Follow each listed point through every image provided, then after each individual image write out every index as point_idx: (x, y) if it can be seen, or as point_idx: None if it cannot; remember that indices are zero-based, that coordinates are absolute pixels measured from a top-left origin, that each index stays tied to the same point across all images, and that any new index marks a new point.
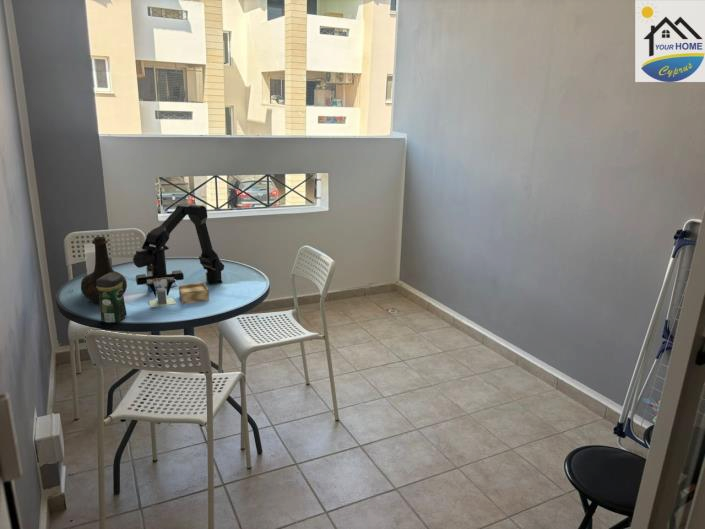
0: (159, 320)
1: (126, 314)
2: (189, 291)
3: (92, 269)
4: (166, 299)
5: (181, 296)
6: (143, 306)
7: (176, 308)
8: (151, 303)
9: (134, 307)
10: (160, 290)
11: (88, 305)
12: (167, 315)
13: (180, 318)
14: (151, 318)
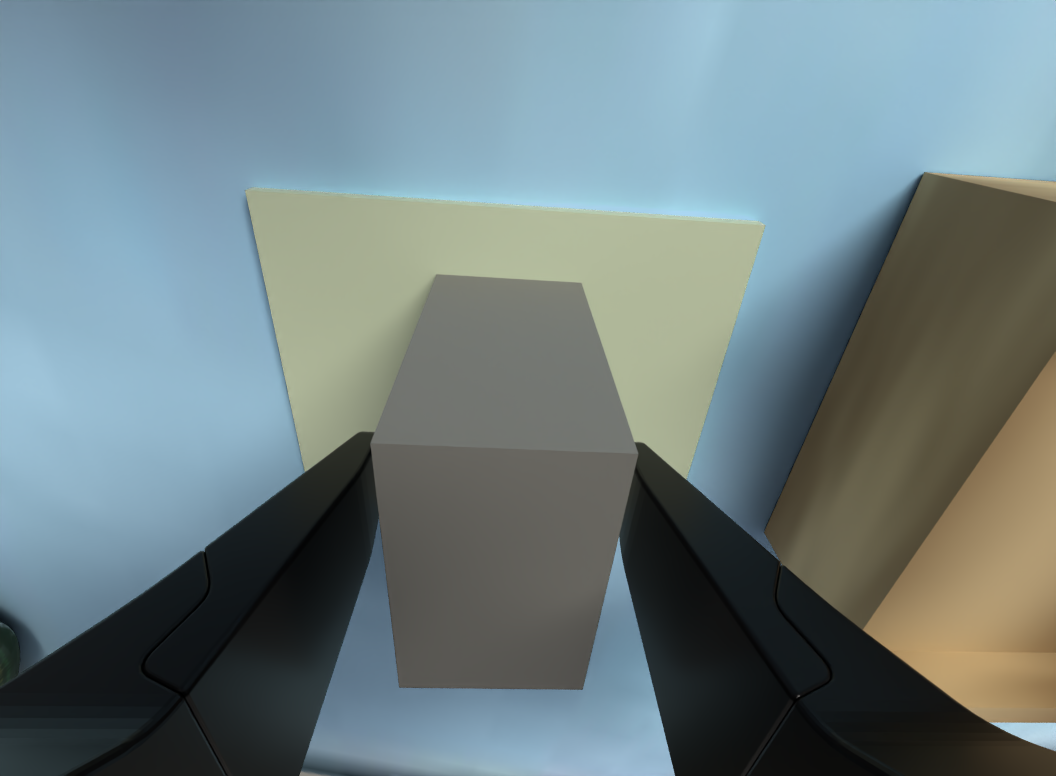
0: (405, 754)
1: (11, 658)
2: (1011, 713)
3: None
4: (610, 283)
5: (856, 488)
6: (185, 408)
7: (628, 611)
8: (313, 367)
9: (27, 392)
10: (475, 619)
11: None
12: (490, 707)
13: (581, 766)
14: (332, 715)
